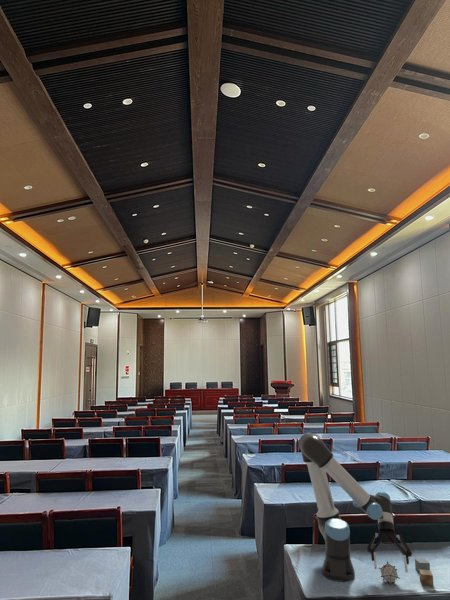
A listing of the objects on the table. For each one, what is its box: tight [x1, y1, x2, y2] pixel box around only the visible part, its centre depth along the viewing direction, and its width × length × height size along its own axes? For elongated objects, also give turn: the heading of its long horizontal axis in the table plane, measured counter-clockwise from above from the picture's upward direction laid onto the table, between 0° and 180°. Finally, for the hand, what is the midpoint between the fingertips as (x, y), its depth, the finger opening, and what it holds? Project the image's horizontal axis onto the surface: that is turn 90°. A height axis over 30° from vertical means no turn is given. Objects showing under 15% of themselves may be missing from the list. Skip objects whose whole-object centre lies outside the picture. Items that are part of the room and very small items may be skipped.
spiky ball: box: [378, 561, 400, 586], centre depth 206 cm, size 9×8×10 cm
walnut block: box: [418, 569, 434, 588], centre depth 205 cm, size 5×5×5 cm
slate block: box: [414, 557, 431, 573], centre depth 217 cm, size 5×5×5 cm
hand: (391, 569), depth 206 cm, fingers open, 13 cm apart
